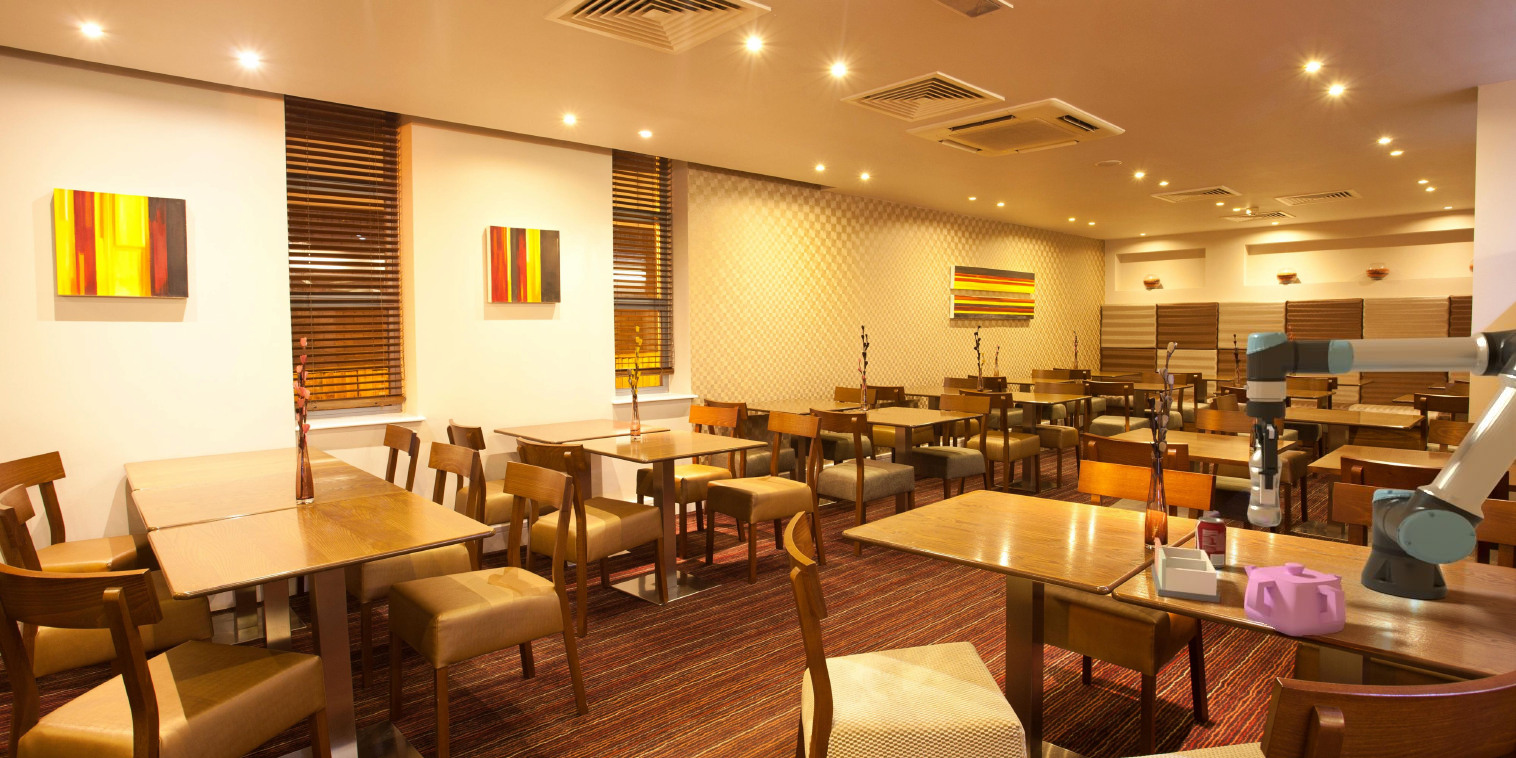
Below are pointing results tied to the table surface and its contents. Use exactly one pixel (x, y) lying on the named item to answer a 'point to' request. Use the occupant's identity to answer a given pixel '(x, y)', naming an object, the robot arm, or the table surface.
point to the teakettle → (1295, 599)
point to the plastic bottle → (1256, 510)
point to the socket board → (1184, 574)
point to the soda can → (1212, 540)
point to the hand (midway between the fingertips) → (1264, 500)
